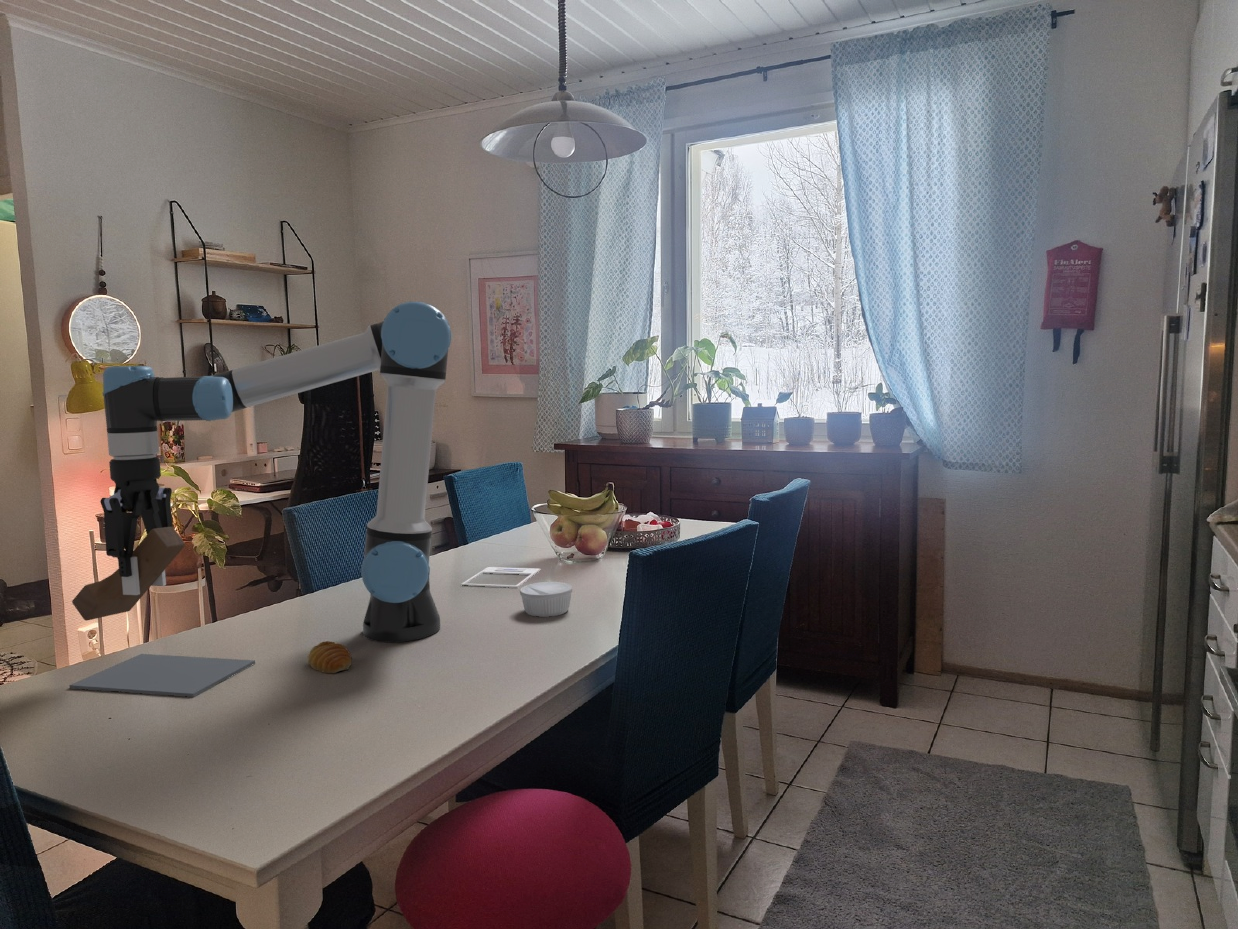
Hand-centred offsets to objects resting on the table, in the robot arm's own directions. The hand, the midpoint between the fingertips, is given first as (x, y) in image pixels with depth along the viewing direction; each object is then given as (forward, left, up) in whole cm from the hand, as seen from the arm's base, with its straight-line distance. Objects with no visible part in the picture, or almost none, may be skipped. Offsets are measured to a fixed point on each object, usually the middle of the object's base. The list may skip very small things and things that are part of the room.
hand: (145, 589), depth 146 cm
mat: (-3, 0, -15) cm, 16 cm away
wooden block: (+8, +2, -3) cm, 8 cm away
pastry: (-29, -10, -16) cm, 35 cm away
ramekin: (-58, -48, -16) cm, 77 cm away
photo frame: (-38, -75, -16) cm, 85 cm away
